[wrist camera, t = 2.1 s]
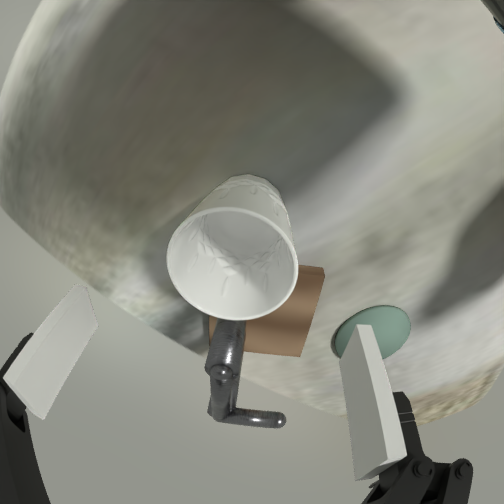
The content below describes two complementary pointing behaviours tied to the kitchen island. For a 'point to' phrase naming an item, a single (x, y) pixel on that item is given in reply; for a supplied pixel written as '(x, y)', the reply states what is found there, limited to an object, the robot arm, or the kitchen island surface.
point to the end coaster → (377, 328)
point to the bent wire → (232, 378)
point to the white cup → (235, 251)
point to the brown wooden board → (285, 318)
